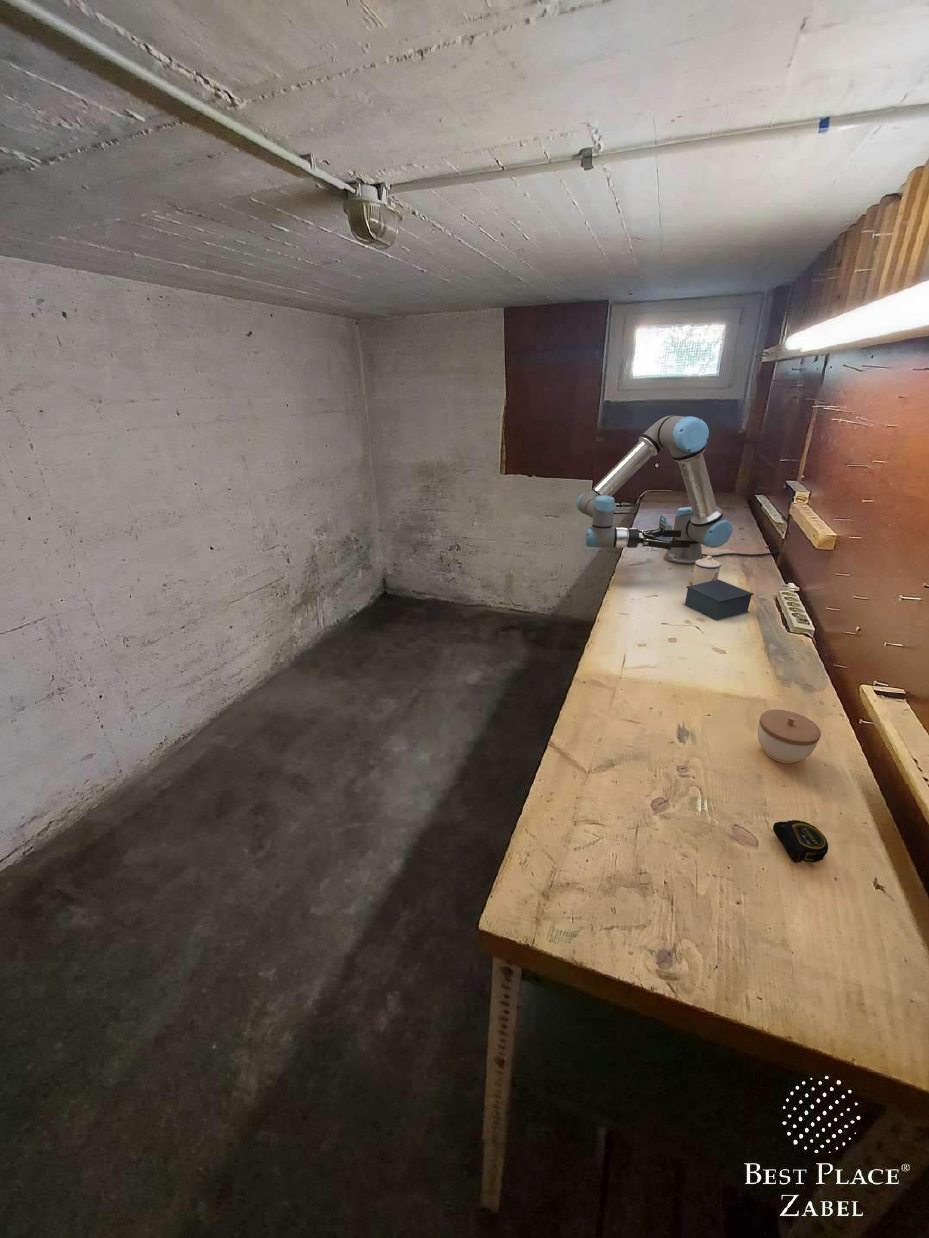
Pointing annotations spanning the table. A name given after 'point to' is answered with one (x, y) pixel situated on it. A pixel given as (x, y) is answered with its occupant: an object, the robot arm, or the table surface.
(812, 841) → the tape measure
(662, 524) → the label tape box
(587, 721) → the table surface
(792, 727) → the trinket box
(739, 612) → the storage box
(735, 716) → the table surface
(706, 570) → the teacup with lid
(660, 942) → the table surface
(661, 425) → the robot arm
